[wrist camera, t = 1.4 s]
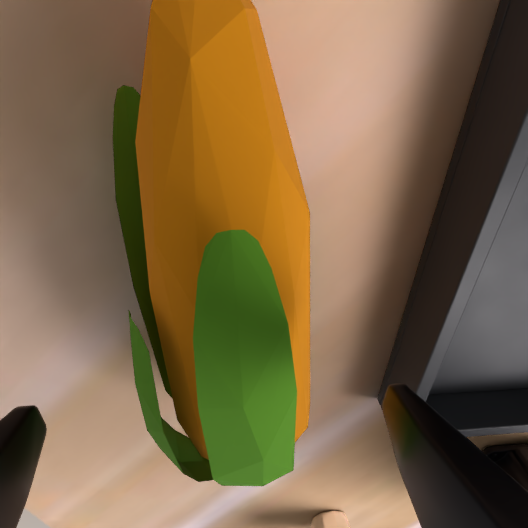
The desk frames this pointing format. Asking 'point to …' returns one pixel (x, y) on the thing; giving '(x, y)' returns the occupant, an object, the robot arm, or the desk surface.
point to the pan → (477, 257)
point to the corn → (215, 244)
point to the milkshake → (330, 520)
